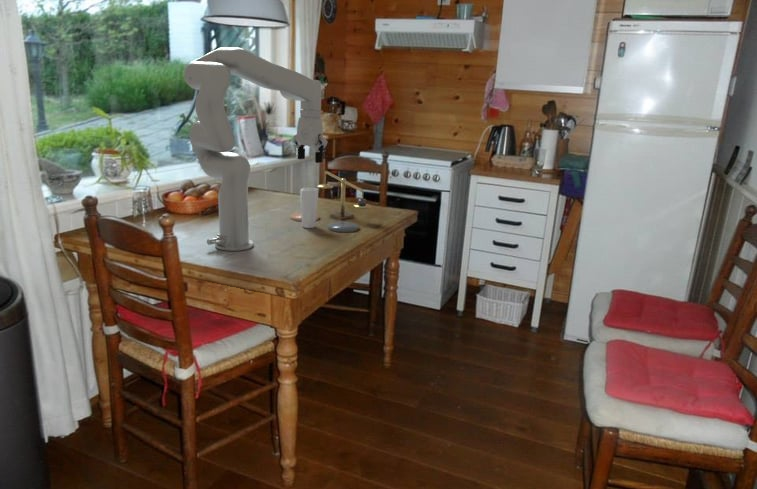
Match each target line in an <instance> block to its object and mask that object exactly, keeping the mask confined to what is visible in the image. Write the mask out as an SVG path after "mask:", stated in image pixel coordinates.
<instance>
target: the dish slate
mask: <svg viewBox="0 0 757 489" xmlns="http://www.w3.org/2000/svg"><path fill="white" fill-rule="evenodd" d="M327 229H328V230H330V231H332V232H335V233H354V232H357V231H358V230H359V225H358V224H356V223H354V222H348V221H334V222H330V223H328V224H327Z"/></svg>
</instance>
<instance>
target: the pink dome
mask: <svg viewBox="0 0 757 489" xmlns="http://www.w3.org/2000/svg"><path fill="white" fill-rule="evenodd" d="M289 217H290V220H292V221H296V222H300V223H302V217H301V211H299V212H293V213H291V214H290V215H289ZM319 220H320V215H319V214H318V213H316V221H319Z"/></svg>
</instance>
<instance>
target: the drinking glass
mask: <svg viewBox="0 0 757 489" xmlns="http://www.w3.org/2000/svg"><path fill="white" fill-rule="evenodd" d="M299 193H300V194H299V197H300V198H299V199H300V212H301V217H302V222H301V226H302V228H304V229H314V228H315V227H316V224H317V223H316V222H317V220H316V214H317V210H318V203H319V202H318V200H319V188H317V187H316V188H315V187H301V188H300V192H299Z"/></svg>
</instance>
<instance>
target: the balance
mask: <svg viewBox="0 0 757 489" xmlns="http://www.w3.org/2000/svg"><path fill="white" fill-rule="evenodd" d="M326 175H328V176H330V177H332V178H334V179H336V180H338V181H340V208H339V209H340V210H339V212H337V213H331V214H330V218H331V219H335V220H339V221H343V220H347V219H348V220H349V219H352V218H355V214H353V213H350V212H345V211H346V185H347V186H350V187H351V188H353V189H355V190H357V191H359V192H361V198H359V199H358V200H357V202H358V203H354V204H352V207H353V208H355V209H361V210H364V209H365V210H367V209H370V208H371V204H369V203H367V199H366V198H364V189H363V188H361V187H359V186H357V185H355V184H353V183H351V182H349V181H347V179H346V178H344V177H339V176H337V175H335V174H333V173H332V172H330V171H328V170H324V183H319V184H317V185H316V188H317V189H326V190H330V189H333V188H334V185H333V184H330V183H329V184H328V183H326V180H327V179H326V178H327V176H326Z"/></svg>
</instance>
